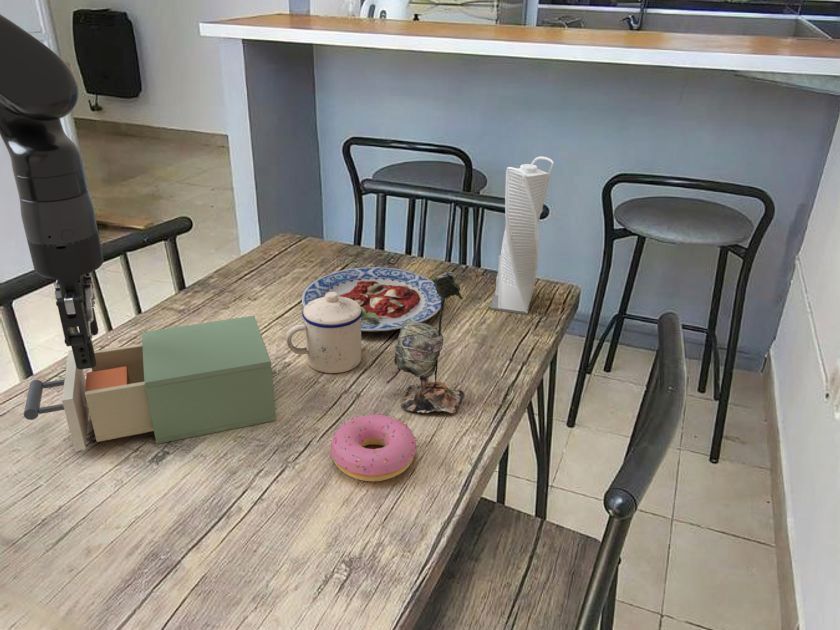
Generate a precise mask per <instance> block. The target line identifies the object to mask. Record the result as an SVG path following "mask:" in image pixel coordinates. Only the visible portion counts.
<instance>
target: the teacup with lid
mask: <svg viewBox="0 0 840 630" xmlns="http://www.w3.org/2000/svg"><path fill="white" fill-rule="evenodd" d="M301 315H302V318H303V320H304V321H303V322H304V323H300V324H296V325H294V326H292V327H290V328H289V329H288V330H287V332H286V334H285V343H286V345H287V348H288V349H289V350H290V351H291V352H292V353H294V354H296V355H306V362H307V364H308V366H309V367H310V368H312V369H313V370H315V371H317V372H320V373H325V374H340V373H345V372H348V371H351V370H353V369H354V368H356V367H357V366H358V365H359V364H361V361H362V357H363V356H362V331H361V316H362V309H361V307H360V305H359V304H358V303H357V302H356V301H354V300H352V299H349V298H346V297H340V296H338V294H337V293H336V292H328V293H327V294H326V295H325V297H322V298H318V299H315V300H313V301H311V302H309V303H308V304H307V305H306V306H305V308H304V307H303V310H302V314H301ZM301 331H304V334H305V336H304V337H305V347H296V346H295V345H294V344H293V343H292V338H293V336H294V335H295V334H296V333H298V332H301Z"/></svg>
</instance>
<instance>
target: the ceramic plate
mask: <svg viewBox="0 0 840 630" xmlns="http://www.w3.org/2000/svg"><path fill="white" fill-rule="evenodd" d="M328 292H336V293H337V294H338V296H340V297H346V298H349V299H352V300H354V301H356V302H357V303H358V304H359V305H360V307H361V309H362V316H361V332H388V331H395V330H399V329H400V330H401V327H402V325H403V323H404V321H406V320H415V321H418V322H420V323H424V322H425V321H427V320H429V319H431V318H432V317H433V316H435V315H436V314H437V313H438V312H440V310H441V305H440V303H441V298H442V297H440V296H439V295H438V293H437V290H436V287H435V284H434V280H431V279H430V278H427V277H426V276H423V275H422V274H419V273H415V272H412V271H409V270H404V269H399V268H391V267H382V266H381V267H380V266H372V267H368V266H367V267H355V268H348V269H343V270H338V271H335V272H332V273H329V274H326V275H324V276H322V277H319V278H317V279H316V280H314V281H313V282H311V283H310V284H309V285H308V286H307V287H306V288H305V289H304V291H303V292H302V295H301V304H302V307H303V309H304V308H305V306H306V305H307V304H308V303H309V302H311V301H313V300H315V299H318V298H322V297H325V295H326V294H327V293H328ZM406 315H408V316H407V317H406Z"/></svg>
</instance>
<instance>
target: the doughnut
mask: <svg viewBox="0 0 840 630" xmlns="http://www.w3.org/2000/svg"><path fill="white" fill-rule="evenodd" d="M417 441H418V440H417V437H416V436H415V435H414V433H413V430H412V429H411V428H410V427H409V426H408V424H407V423H404V422H403V421H401V420H400V419H397V418H396V417H395V416H394V415H393V416H389V415H386V414H385V415H384V414H365V413H364V414H363V415H360V416H356V417H353V418H351V419H350V420H347V421H346V422H343V424H342V425H341V426H340V427H338V429H337V430H335V432H334V434H333V436H332V439H331V440H330V445H329V446H330V448H329V450H330V456H332V460H333V463H334V464H335V466H336V467H337V468H338V469H339V470H340V471H341V472H342V473H344V474H345V475H347V476H348V477H350V478H352V479H355V480H358V481H364V482H381V481H386V480H390V479H393V478H395V477H397V476H399V475H401V474H403V472H405V471H406V470H407V469H408V468H409V467H410V466H411V464H412V462H413V461H414V459H415V456H416V453H417V449H418V445H417ZM369 445H370V446H371V445H377V446H382V447H379V448H367V447H366V446H369Z"/></svg>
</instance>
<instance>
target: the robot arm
mask: <svg viewBox="0 0 840 630" xmlns="http://www.w3.org/2000/svg"><path fill="white" fill-rule="evenodd" d="M78 99H79V86H78V81H77V79H76V76H75V74H74V73H73V71H72V69H71V68H70V67H69V65H68V64H67V62H65V61H64V60H63V58H61V57H60V56H59V55H58V54H57V53H56V52H55V51H54V50H52V49H51V48H50V47H48V46H47V45H46V44H45V43H43V42H41V41H40V40H39V39H38V38H36V37H35V36H33V35H32V34H30V33H29V32H27V31H26V30H25V29H24V28H22V27H21V26H19V25H17V24H16V23H14V22H13V21H12V20H11V19H9V18H7V17H6V16H4V15H2V14H1V13H0V137H1V140H2V142H3V144H4V145H5V148H6V150H7V152H8V155H9V157H10V163H11V169H12V173H13V177H14V181H15V185H16V190H17V194H18V199H19V207H20V216H21V221H22V225H23V229H24V233H25V238H26V242H27V246H28V250H29V253H30V258H31V262H32V265H33V270H34V271H35V273H36V274H38V275H39V276H41V277H42V278H43V277H44V278H47V279H54V280H56V281H55V282H56V287H54V296H55V300H56V301H55V306H56V307H57V309H58V315H59V319H60V324H61V328H62V332H63V337H64V339H63V340H64V344H65V346H66V347H70V348H71V350H72V351H73V355H74V360H75V364H76V368H77V369H83V370H88V369H92V368H93V367H95V366H96V358H95V353H94V351H95V348H94V345H93V337H94V336H97V335H98V334H99V327H98V326H99V325H98V321H97V317H96V310H95V305H96V290H95V285H94V278H93V275H91V273H94V272H96V271H97V270H98V269H100V268H101V267H102V265H103V264H104V255H103V249H102V244H101V239H100V232H99V227H98V224H97V219H96V213H95V209H94V205H93V202H92V199H91V196H90V193H89V190H88V183H87V179H86V174H85V168H84V164H83V159H82V155H81V153H80V150H79V148H78V146H77V144H75V142H73V140H72V139H71V138H70V137H69V136H68V135H67V134H66V132H65V130H64V128H63V125H62V121H61V119H63V118H65V117H66V116H68V115H69V114H70V113H72V111H74V109H75V107H76V105H77V103H78ZM73 328H78V332H73Z"/></svg>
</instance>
